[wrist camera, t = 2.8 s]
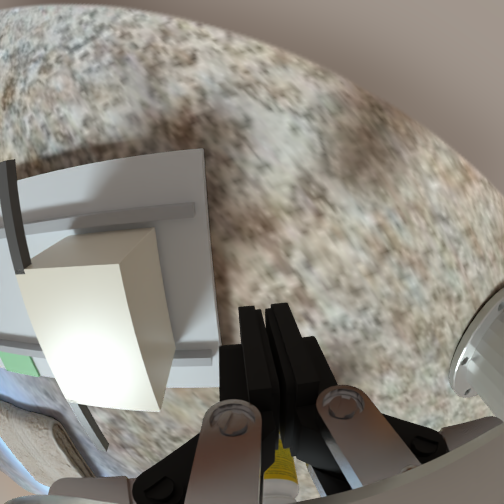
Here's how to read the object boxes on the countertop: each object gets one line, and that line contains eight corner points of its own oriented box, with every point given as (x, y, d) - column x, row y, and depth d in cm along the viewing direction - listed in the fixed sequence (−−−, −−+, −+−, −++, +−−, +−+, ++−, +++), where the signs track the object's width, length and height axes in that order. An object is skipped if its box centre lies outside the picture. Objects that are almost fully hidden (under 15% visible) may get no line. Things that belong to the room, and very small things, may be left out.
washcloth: (44, 472, 26) (38, 487, 23) (-17, 387, 20) (-29, 403, 17) (113, 493, 26) (109, 510, 23) (59, 412, 21) (48, 434, 18)
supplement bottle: (224, 418, 20) (224, 513, 12) (286, 410, 20) (305, 504, 12) (235, 450, 22) (238, 532, 14) (289, 443, 22) (305, 524, 14)
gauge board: (203, 148, 14) (177, 144, 7) (225, 374, 19) (225, 463, 12) (-55, 204, 13) (-116, 229, 7) (-9, 356, 18) (-48, 403, 11)
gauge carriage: (146, 139, 13) (103, 133, 8) (188, 398, 17) (179, 459, 13) (58, 156, 12) (-4, 164, 8) (118, 395, 17) (97, 450, 13)
